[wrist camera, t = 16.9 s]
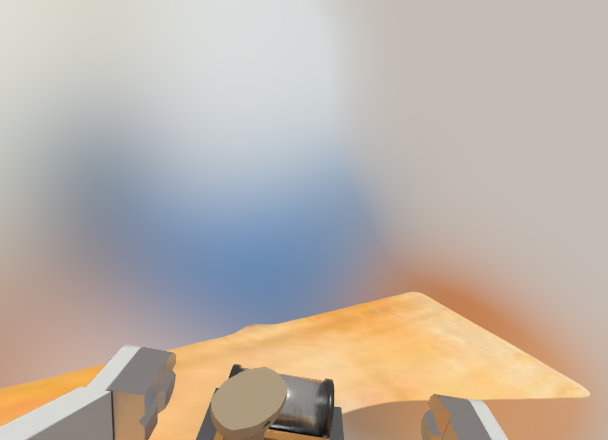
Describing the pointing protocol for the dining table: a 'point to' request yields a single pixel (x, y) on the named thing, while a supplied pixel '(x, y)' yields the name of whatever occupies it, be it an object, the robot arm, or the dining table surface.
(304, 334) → the dining table surface
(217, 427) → the handle
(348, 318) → the dining table surface
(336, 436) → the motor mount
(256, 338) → the dining table surface
